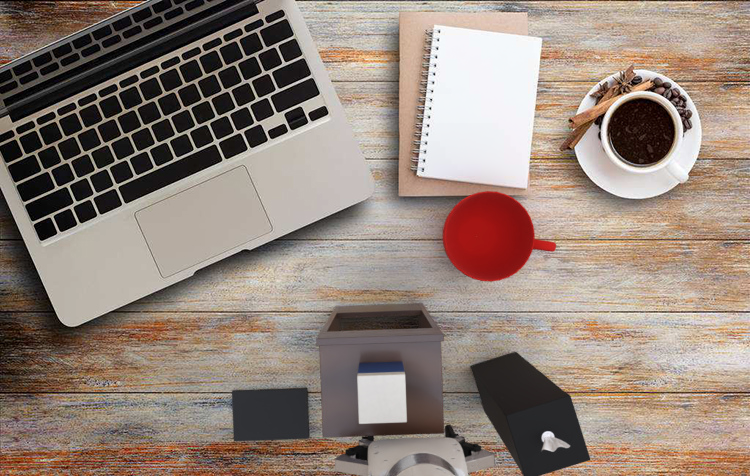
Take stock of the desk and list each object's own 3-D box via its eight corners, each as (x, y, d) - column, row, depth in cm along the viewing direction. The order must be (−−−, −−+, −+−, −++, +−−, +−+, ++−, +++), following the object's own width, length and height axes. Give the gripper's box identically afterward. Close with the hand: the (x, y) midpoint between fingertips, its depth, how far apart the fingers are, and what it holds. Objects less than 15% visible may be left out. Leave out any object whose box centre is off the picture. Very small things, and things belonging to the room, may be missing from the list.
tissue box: (469, 365, 88) (512, 425, 60) (516, 350, 88) (581, 403, 60) (484, 411, 88) (533, 493, 60) (530, 397, 87) (602, 472, 59)
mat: (309, 437, 88) (308, 438, 87) (234, 440, 88) (233, 441, 87) (307, 387, 88) (306, 388, 87) (232, 390, 88) (231, 391, 87)
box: (404, 404, 63) (406, 422, 57) (360, 406, 63) (358, 424, 57) (402, 361, 63) (405, 374, 57) (359, 362, 63) (357, 376, 57)
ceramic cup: (534, 286, 87) (554, 292, 77) (430, 269, 88) (437, 274, 78) (547, 206, 87) (569, 202, 77) (443, 190, 88) (451, 184, 77)
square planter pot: (425, 377, 88) (447, 443, 60) (338, 380, 88) (319, 448, 60) (422, 303, 88) (443, 334, 60) (335, 306, 88) (315, 338, 60)
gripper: (328, 544, 49) (339, 472, 66) (520, 537, 49) (481, 467, 66) (326, 459, 49) (337, 409, 67) (517, 453, 50) (479, 405, 67)
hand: (409, 438), depth 66 cm, fingers open, 9 cm apart
